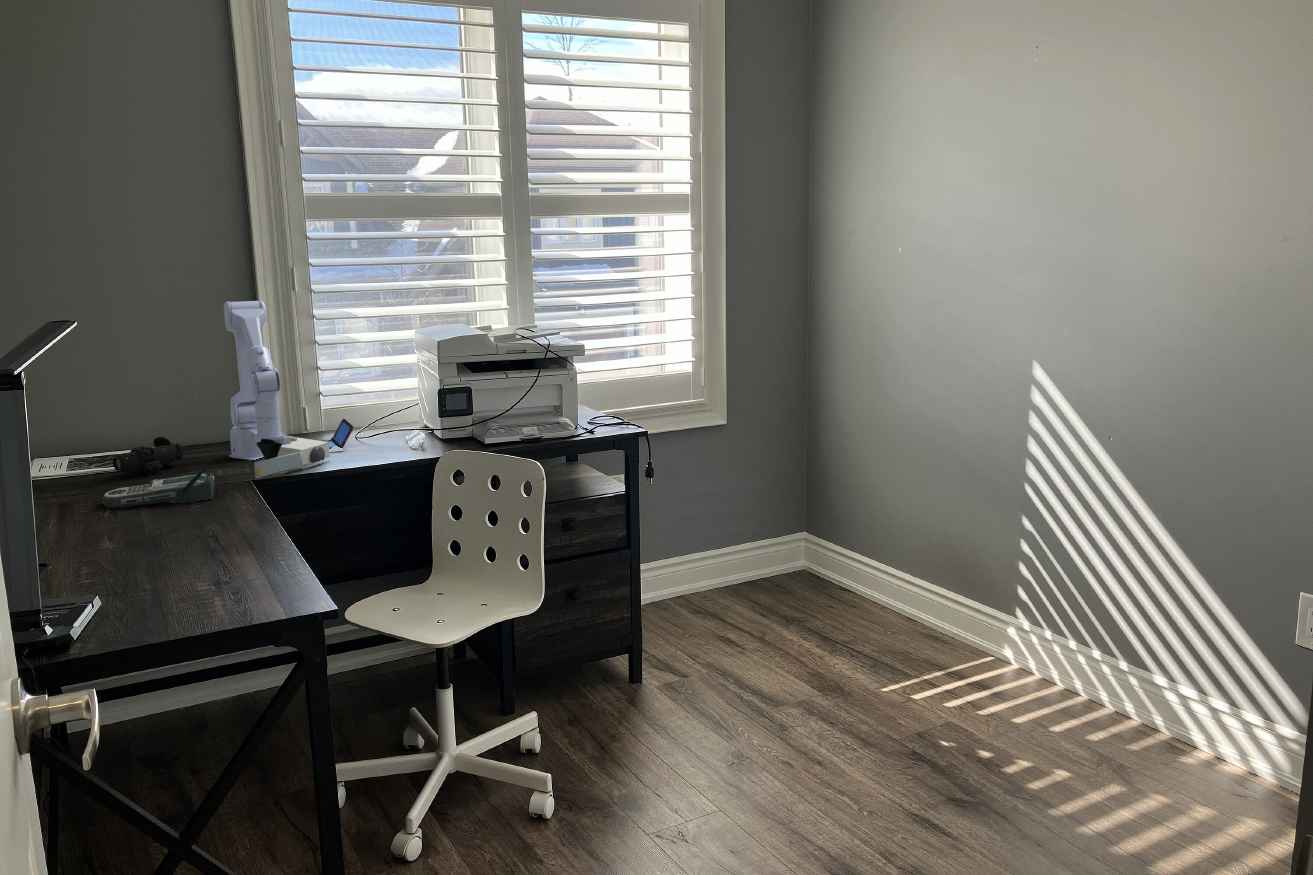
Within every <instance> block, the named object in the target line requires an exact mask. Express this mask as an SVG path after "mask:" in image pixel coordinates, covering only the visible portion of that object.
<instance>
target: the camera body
mask: <svg viewBox="0 0 1313 875" xmlns="http://www.w3.org/2000/svg"><path fill="white" fill-rule="evenodd" d="M290 437H291V444H287V445H282V446H281V448H280V450H279V453H278V456H277V457H279V456H284V455H288V454H292V453H297V452H302V461H303V465H304V464H309V463H314V462H317V461H320V460H324V458H327V457H330V458H331V456H330V455H331V453H330V452H329V442H324V441H322V440H316V439H309V438H302V437H298V436H292V435H291V436H290ZM263 460H265V459H264V458H263Z"/></svg>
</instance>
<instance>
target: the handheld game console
mask: <svg viewBox="0 0 1313 875" xmlns="http://www.w3.org/2000/svg"><path fill="white" fill-rule="evenodd" d="M353 430H354V425H352V423H350V422H349V421H348V420H346V418H342V419H341V421H340V423H339V425H338V427H337V429H336V431H335V432H334V434H333V437H331V438H330V439H323V440H321V441H324V442H329V449H331V448H332V447H333V446H338V447H340V448H343V449H344V447H345V445H346V443H347V441H348V439H349V437H351V435H352V432H353Z"/></svg>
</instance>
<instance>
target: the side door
mask: <svg viewBox="0 0 1313 875" xmlns="http://www.w3.org/2000/svg"><path fill="white" fill-rule="evenodd" d="M253 463H254V464H253V465H254V466H253V467H254V476H255V478H259V477H263V476H266V475H269V474H273V473H276V472H279V471H284V470H288V469H291V468H294V467H299V466H303V461H302V452H297V453H292V454H288V455H284V456H279V457H275V458H271V459H266V460H264V459H262V460H257V461H254V462H253Z"/></svg>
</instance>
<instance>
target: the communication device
mask: <svg viewBox="0 0 1313 875" xmlns="http://www.w3.org/2000/svg"><path fill="white" fill-rule="evenodd" d="M206 471H207V468H206V467H203V468H202V469H201V470H200V471H199V472H198V473H197V474H192V475H182V476H177V477H171V478H164V479H153V480H150V481H149V482H148V484H147V483H146V484H140V485H132V486H127V487H126V486H125V487H120V488H116V489H113V490H109V491H107V492H105V493H104V494H103V496H102V500H103V505H104V506H105V507H106V508H110V509H123V508H125V509H126V508H130V507H138V506H144V505H152V504H158V503H159V504H160V503H166V502H168V503H170V504H172V503H180V504H184V503H183V502H190V503H192V502H191V501H198V500H205V501H207V500H206V499H210V500H212V499H213V498H214V493H215V492H214V491H215V484H216V483H215V482H216V481H215V476H214V475H213V474H212V473H211V472H210V473H207V474H205V472H206Z"/></svg>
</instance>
